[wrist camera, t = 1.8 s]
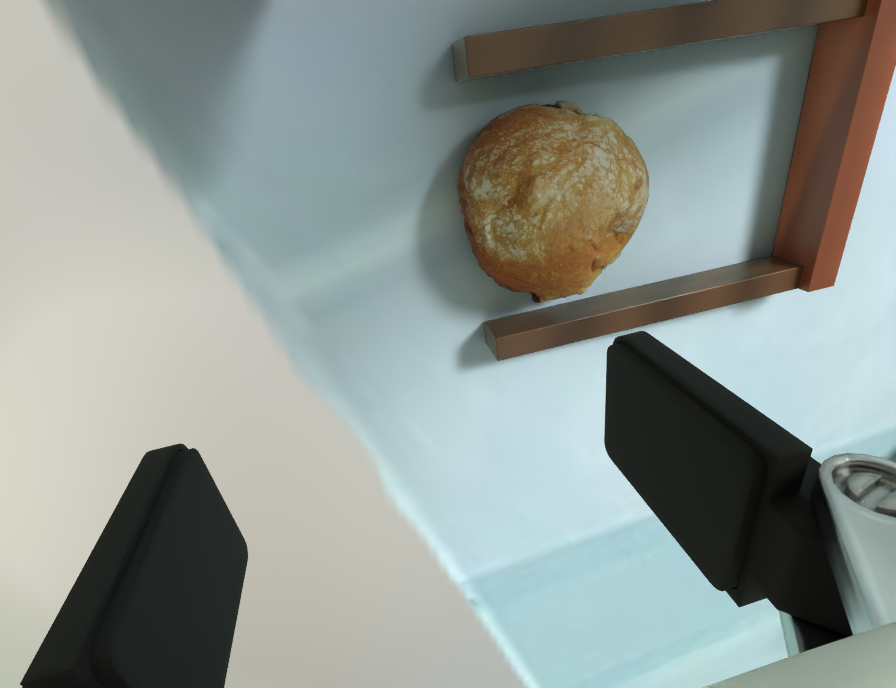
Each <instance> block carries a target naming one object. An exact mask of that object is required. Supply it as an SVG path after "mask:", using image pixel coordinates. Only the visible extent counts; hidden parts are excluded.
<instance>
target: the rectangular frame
mask: <svg viewBox="0 0 896 688" xmlns="http://www.w3.org/2000/svg"><path fill="white" fill-rule="evenodd" d="M818 24H819V29H818V34H817V39H816V44H815V49H814V53H813V58H812V63H811V68H810V73H809V78H808V83H807V88H806V93H805V97H804V102H803V107H802V112H801V117H800V122H799V127H798V132H797V137H796V141H795V146H794V151H793V156H792V161H791V166H790V171H789V176H788V181H787V186H786V190H785V195H784V200H783V205H782V210H781V215H780V220H779V225H778V230H777V234H776V239H775V244H774V249H773V254H772V256H769V257H765V258H760V259H756V260H752V261H747V262H743V263H738V264H734V265H730V266H725V267H721V268H717V269H712V270H708V271H704V272H699V273H695V274H691V275H686V276H682V277H678V278H673V279H669V280H664V281H660V282H656V283H651V284H647V285H643V286H638V287H634V288H630V289H625V290H621V291H617V292H612V293H608V294H603V295H599V296H595V297H590V298H586V299H582V300H577V301H573V302H569V303H564V304H560V305H556V306H551V307H547V308H542V309H538V310H534V311H529V312H525V313H521V314H516V315H512V316H508V317H503V318H499V319H495V320H490V321H486V322H484V329H485V338H486V343H487V345H488V346H489V348H490V349H491V351H492V352H493V354H494V355H495V357H496V358H497V360H498V361H500V360H504V359H508V358H512V357H516V356H520V355H524V354H529V353H533V352H537V351H541V350H545V349H549V348H553V347H557V346H562V345H566V344H570V343H574V342H578V341H582V340H586V339H591V338H595V337H599V336H603V335H607V334H611V333H615V332H619V331H624V330H628V329H632V328H636V327H640V326H644V325H648V324H652V323H657V322H661V321H665V320H669V319H673V318H677V317H681V316H686V315H690V314H694V313H698V312H702V311H706V310H710V309H714V308H719V307H723V306H727V305H731V304H735V303H739V302H743V301H748V300H752V299H756V298H760V297H764V296H768V295H772V294H776V293H781V292H785V291H789V290H793V289H797V288H799V289H801V290H804V291H807V292H810V291H814V290H818V289H822V288H826V287H831V286H834V283H835V280H836V276H837V273H838V269H839V266H840V262H841V258H842V255H843V251H844V248H845V244H846V241H847V237H848V233H849V230H850V226H851V223H852V219H853V216H854V212H855V208H856V205H857V201H858V198H859V194H860V191H861V187H862V183H863V180H864V176H865V173H866V169H867V166H868V162H869V158H870V155H871V151H872V148H873V144H874V141H875V137H876V133H877V130H878V126H879V123H880V119H881V116H882V112H883V108H884V105H885V101H886V98H887V94H888V91H889V87H890V83H891V80H892V76H893V73H894V69H895V66H896V0H713V1H706V2H699V3H692V4H685V5H679V6H672V7H665V8H658V9H651V10H644V11H637V12H630V13H623V14H616V15H609V16H602V17H595V18H589V19H582V20H575V21H568V22H561V23H554V24H547V25H540V26H533V27H526V28H519V29H512V30H506V31H499V32H492V33H485V34H478V35H471V36H465V37H463V38H462V39H460V40H458V41H456V42H454V43H453V44H452V50H453V59H454V68H455V76H456V81H462V80H468V79H474V78H481V77H487V76H493V75H500V74H506V73H512V72H519V71H525V70H531V69H538V68H544V67H551V66H557V65H563V64H570V63H576V62H582V61H589V60H595V59H601V58H608V57H614V56H620V55H627V54H633V53H640V52H646V51H652V50H659V49H665V48H671V47H678V46H684V45H690V44H697V43H703V42H709V41H716V40H722V39H729V38H735V37H741V36H748V35H754V34H760V33H767V32H773V31H779V30H786V29H792V28H799V27H805V26H811V25H818Z"/></svg>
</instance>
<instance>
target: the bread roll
mask: <svg viewBox="0 0 896 688" xmlns="http://www.w3.org/2000/svg"><path fill="white" fill-rule="evenodd" d="M648 185H649V177H648V171H647V168H646V165H645V162H644V160H643V158H642V157H641V155H640V153H639V151H638V149H637V147H636V145H635V144H634V142H633V141H632V140H631V139H630V138H629V137H628V136H626V135H625V133H624V132H623V131H622V130H621V128H620V127H619V126H618V125H617V124H616V123H614V122H613V121H611V120H610V118H603V119H602V118H600V117H599V116H598V115H597V114H595V115H594V116H592V115H591V114H588V115H585V114H583V113H582V111H581V110H580V109H579V108H578V107H576V106H575V105H574V104H572V103H569V102H558V101H557V102H556V105H555V106H554V105H550V104H549V105H537V104H530V105H525V106H520V107H517V108H516V109H513V110H511V111H508V112H506V113H504V114H501V115H499V116H498V117H496V118H495V119H493V120H492V121H491V122H490V123H489V124H488V125H487V126H486V127H485V128H484V129H483V130H482V131H481V132H480V134H479V135H478V136H477V138H476V139H475V140H474V142H473V143H472V145H471V147H470V148H469V150H468V152H467V154H466V157H465V160H464V163H463V165H462V168H461V171H460V174H459V181H458V193H459V202H460V204H461V212H462V214H463V216H464V223H465V230H466V233H467V235H468V239H469V241H470V243H471V246H472V251H473V253H474V255H475V257H476V258H477V261H478V263H479V266H480V267H481V269H482V270H483V271H484V272H485V273H486V274H487V275H488V276H490V277H493V279H494V281H495V282H496V283H497V284H498V285H499V286H501V287H503V288H506V289H508V290H510V291H512V292H527V293H530V294H532V295H531V297H532V300H533V301H534V302H535V303H542V302H545V301H549V300H554V299H558V298H565V297H567V296H570V295H574V294H580V295H581V294H583V293H584V292H585V291H586V288H588V287H589V286H591V284H592V283H593V281H594V280H595V278H596V277H597V276H598V275H599V274H600V273H601V272H602V269H605V268H606V267H607V265H609V264H612V263H613V262H614V261H615V260H616V259H617V258H618V257H619V256H620V253H621V251H622V249H623V248H624V247H625V245H626V244H627V243H628V241H629V240H630V238H631V237H632V235H633V233H634V232H635V230H636V228H637V227H638V225H639V222H640V220H641V218H642V215H643V212H644V209H645V207H646V204H647V201H648Z"/></svg>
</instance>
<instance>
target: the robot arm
mask: <svg viewBox="0 0 896 688" xmlns="http://www.w3.org/2000/svg"><path fill="white" fill-rule="evenodd" d="M604 441H605V448H606V451H607V453H608V455H609V457H610V458H611V460H612V461H613V462H614V464H615V465H616V466H617V467H618V469H619V470H620V471H621V472H622V474H623V475H624V476H625V477H626V479H627V480H628V481H629V482H630V483H631V485H632V486H633V487H634V488H635V490H636V491H637V492H638V493H639V495H640V496H641V497H642V498H643V500H644V501H645V502H646V503H647V505H648V506H649V507H650V508H651V510H652V511H653V512H654V513H655V515H656V516H657V517H658V518H659V520H660V521H661V522H662V523H663V525H664V526H665V527H666V528H667V530H668V531H669V532H670V533H671V535H672V536H673V537H674V538H675V539H676V541H677V542H678V543H679V544H680V546H681V547H682V548H683V549H684V551H685V552H686V553H687V554H688V556H689V557H690V558H691V559H692V561H693V562H694V563H695V564H696V566H697V567H698V568H699V569H700V571H701V572H702V573H703V574H704V576H705V577H706V578H707V579H708V581H709V582H710V583H711V584H712V585H713V586H714V587H715V588H716V589H718V590H720V591H726V592H727V593H728V594H729V596H730V597H731V598H732V599H733V601H734V602H735V603H736V604H737V605H738V607H742V606H744V605H747V604H750V603H753V602H756V601H759V600H762V599H765V598H766V597H767V599H768V600H769V601H770V602H771V603H772V604H773V605H774V606H775V607H776V609H777V610H779V614H780V619H781V624H782V629H783V634H784V639H785V643H786V648H787V653H788V658H785V659H782V660H780V661H777V662H774V663H771V664H768V665H765V666H763V667H760V668H757V669H754V670H751V671H749V672H746V673H743V674H740V675H737V676H735V677H732V678H729V679H726V680H723V681H721V682H718V683H715V684H712V685H709V686H706V687H704V688H896V462H893V461H890V460H887V459H885V458H881V457H876V456H871V455H866V454H851V453H846V454H840V455H834V456H832V457H830V458H828V459H826V460H824V461H823V463H822V465H821V464H820V463H819V462H817V461H816V460H814V459H813V458H812V457H810V456H811V453H812V450H813V449H812V448H811V447H809V446H808V445H806V444H805V443H804V442H802V441H801V440H799V439H798V438H797V437H795V436H794V435H792V434H791V433H789V432H788V431H787V430H785V429H784V428H782V427H781V426H779V425H778V424H777V423H775V422H774V421H772V420H771V419H769V418H768V417H767V416H765V415H764V414H762V413H761V412H759V411H758V410H757V409H755V408H754V407H752V406H751V405H749V404H748V403H747V402H745V401H744V400H742V399H741V398H740V397H738V396H737V395H735V394H734V393H732V392H731V391H730V390H728V389H727V388H725V387H724V386H722V385H721V384H720V383H718V382H717V381H715V380H714V379H712V378H711V377H710V376H708V375H707V374H705V373H704V372H702V371H701V370H700V369H698V368H697V367H695V366H694V365H692V364H691V363H690V362H688V361H687V360H685V359H684V358H683V357H681V356H680V355H678V354H677V353H675V352H674V351H673V350H671V349H670V348H668V347H667V346H665V345H664V344H663V343H661V342H660V341H658V340H657V339H655V338H654V337H653V336H651V335H650V334H648V333H647V332H644V331H639V332H635V333H631V334H627V335H623V336H619V337H617V338H615V340H614V342H613V345H610V346H609V347H608V350H607V371H606V405H605V440H604ZM247 560H248V551H247V545H246V542H245V540H244V538H243V536H242V534H241V532H240V530H239V528H238V526H237V524H236V523H235V520H234V519H233V517H232V515H231V513H230V511H229V509H228V507H227V505H226V503H225V501H224V499H223V497H222V496H221V494H220V492H219V490H218V488H217V486H216V485H215V482H214V480H213V478H212V476H211V475H210V473H209V471H208V469H207V467H206V465H205V463H204V461H203V459H202V457H201V456H200V454H199V452H198V451H197V450H196V449H194V448H192V449H188V448H187V447H186V446H185V445H184V444H177V445H172V446H168V447H164V448H160V449H156V450H152V451H149V452H147V453H146V454H145V455H144V457H143V458H142V460H141V462H140V464H139V466H138V468H137V470H136V471H135V473H134V475H133V477H132V479H131V480H130V482H129V484H128V486H127V488H126V490H125V491H124V493H123V495H122V497H121V499H120V501H119V503H118V505H117V506H116V508H115V510H114V512H113V514H112V515H111V517H110V519H109V521H108V523H107V525H106V526H105V528H104V530H103V532H102V534H101V536H100V538H99V539H98V541H97V543H96V545H95V547H94V549H93V550H92V552H91V554H90V556H89V558H88V560H87V562H86V563H85V565H84V567H83V569H82V571H81V573H80V574H79V576H78V578H77V580H76V582H75V584H74V585H73V587H72V589H71V591H70V593H69V595H68V596H67V599H66V600H65V602H64V604H63V606H62V608H61V609H60V611H59V613H58V615H57V617H56V619H55V621H54V622H53V624H52V626H51V628H50V630H49V631H48V634H47V635H46V637H45V639H44V641H43V643H42V644H41V646H40V648H39V650H38V652H37V654H36V655H35V657H34V659H33V661H32V663H31V665H30V666H29V668H28V670H27V672H26V674H25V676H24V678H23V679H22V681H21V683H20V685H22V686H23V687H22V688H224V685H225V678H226V674H227V668H228V663H229V658H230V652H231V647H232V641H233V635H234V630H235V625H236V620H237V615H238V609H239V604H240V598H241V593H242V588H243V582H244V576H245V571H246V566H247Z"/></svg>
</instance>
